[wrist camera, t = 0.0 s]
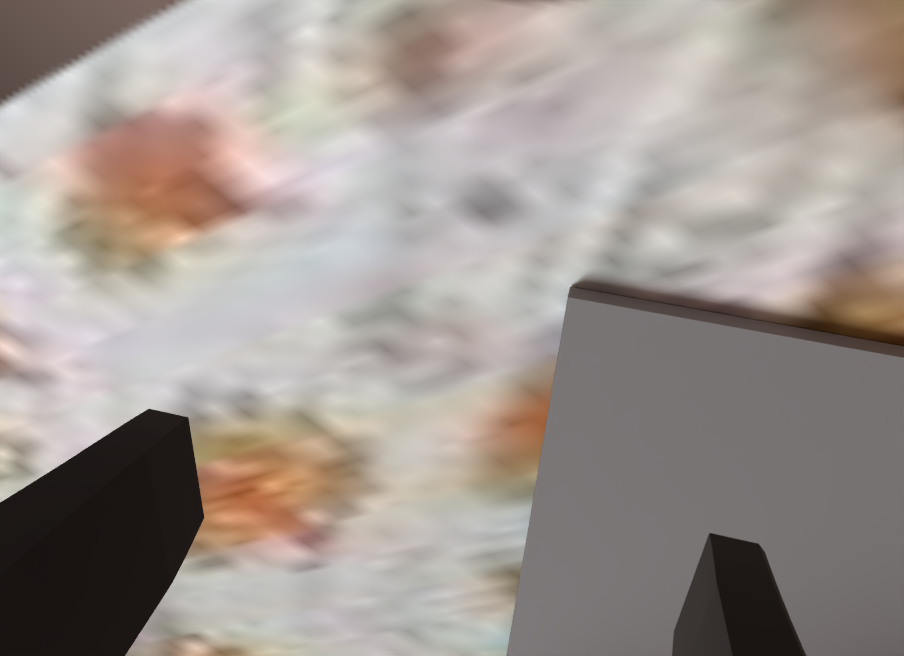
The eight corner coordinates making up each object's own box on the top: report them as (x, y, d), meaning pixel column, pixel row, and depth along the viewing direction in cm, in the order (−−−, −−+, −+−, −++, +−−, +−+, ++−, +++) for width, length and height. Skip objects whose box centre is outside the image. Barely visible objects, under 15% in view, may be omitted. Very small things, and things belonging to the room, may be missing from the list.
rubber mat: (1150, 864, 27) (1157, 880, 27) (500, 694, 31) (497, 706, 30) (1631, 476, 17) (1654, 493, 16) (570, 286, 20) (567, 297, 20)
